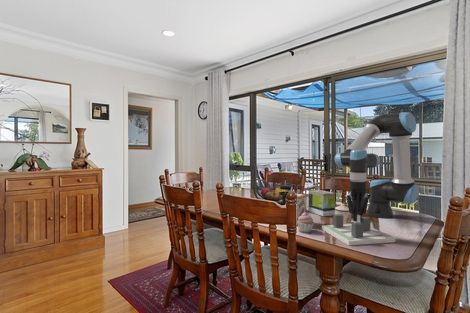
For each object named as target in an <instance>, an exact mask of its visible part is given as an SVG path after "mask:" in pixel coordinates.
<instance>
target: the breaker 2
mask: <svg viewBox="0 0 470 313" xmlns="http://www.w3.org/2000/svg"><path fill="white" fill-rule="evenodd" d="M351 224H352V228H351V235H352V236H354V237H363V224H362V223H360V222H356V223H354V222H351Z"/></svg>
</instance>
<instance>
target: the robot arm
mask: <svg viewBox="0 0 470 313" xmlns="http://www.w3.org/2000/svg"><path fill="white" fill-rule="evenodd" d="M416 128H417V122H416V118H415V116H414V115H413V114H412V113H411V112H408V111H407V112H406V111H405V112H395V113H385V114H380V115H378V116H375V117H373V118H372V119H371V120H369V121H368V122H367V123H366V124H365V125H364V127H363V130H362V131H361V132H360V134H358V136H356V138H355V139H354V140H352V142H351V143H350V145H348V147H347V148H346V149H345V150H344V152H338V153H336V154H335V156H334V162H335V164H336V166H339V167H343V168H345V167H348V168H349V180H350V181H349V192H348V194H344V198H345V199H346V203H347V207H348V208H349V213H351V215H352V222H353V223H356V222H360V221H361V219H362V217H364V214H366V215H367V216H370V217H374V218H381V219H390V218H391V219H392V218H393V217H394V212H393V209H392V205H391V202H395V203H402V204H408V205H409V204H414V203H416V201H417V199H418V197H419V193H420V188H419V185H418V184H415V180H414V179H413V178H412V170H411V169H412V168H411V147H410V138H411V137H412V136H413V133H414V132H416ZM382 134H388V137H389V138H390V139H391V143H392V158H393V159H392V160H393V162H392V163H393V178H392V179H388V178H387V179H373V180H371V181H370V183H369V193H367V191H366V189H367V169H374V168H377V167H378V166H379V165H380V163H381V159H380V156H379V155H378V154H377V153H368V152H367V150H366V149H367V147H368V146H369V145H370V144H371V142H372V141H373V140H374V139H375V138H377V137H379V135H382Z"/></svg>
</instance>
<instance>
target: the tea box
mask: <svg viewBox="0 0 470 313" xmlns="http://www.w3.org/2000/svg"><path fill="white" fill-rule="evenodd" d="M335 207H336V192H332V191H331V192H330V191H327V190H326V191H325V190H321V189H317V190H316V189H313V190H308V212H309V213H312V214H315V215H318V216H321V217H331V216H332V217H333V214H335Z"/></svg>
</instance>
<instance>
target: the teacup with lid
mask: <svg viewBox="0 0 470 313" xmlns="http://www.w3.org/2000/svg"><path fill="white" fill-rule="evenodd" d="M335 214H341V215H343V224H352V214H351V213H349V208H348V205H346V203H341V204H340V205H339V206H335Z"/></svg>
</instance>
